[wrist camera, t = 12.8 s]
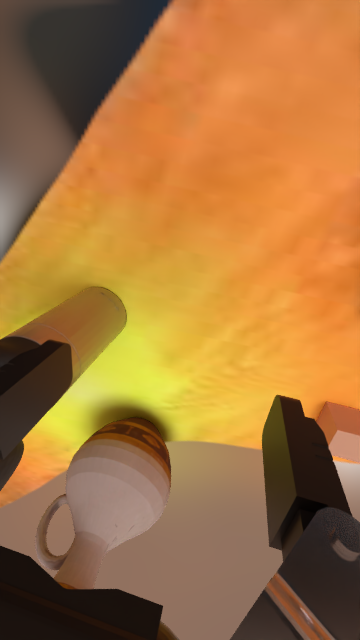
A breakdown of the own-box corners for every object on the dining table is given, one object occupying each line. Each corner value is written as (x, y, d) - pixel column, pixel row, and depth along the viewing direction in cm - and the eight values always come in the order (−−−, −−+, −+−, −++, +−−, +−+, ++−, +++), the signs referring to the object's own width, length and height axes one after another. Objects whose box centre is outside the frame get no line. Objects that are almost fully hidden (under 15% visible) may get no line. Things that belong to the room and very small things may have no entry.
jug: (109, 460, 62) (8, 658, 36) (82, 399, 56) (-67, 586, 29) (190, 463, 57) (142, 701, 30) (171, 396, 50) (88, 623, 23)
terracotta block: (346, 431, 45) (359, 462, 40) (315, 423, 46) (324, 453, 40) (358, 409, 43) (375, 439, 37) (326, 401, 43) (337, 430, 38)
